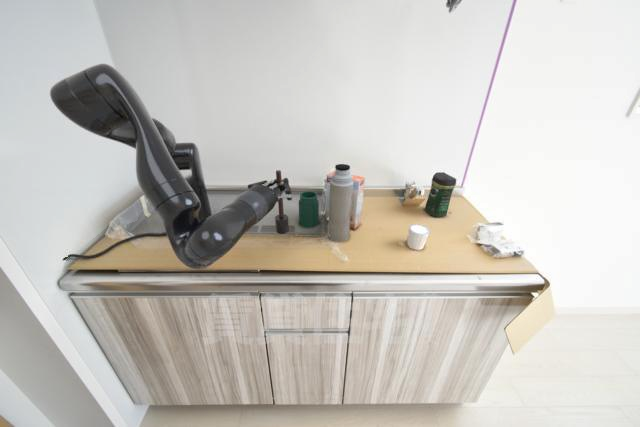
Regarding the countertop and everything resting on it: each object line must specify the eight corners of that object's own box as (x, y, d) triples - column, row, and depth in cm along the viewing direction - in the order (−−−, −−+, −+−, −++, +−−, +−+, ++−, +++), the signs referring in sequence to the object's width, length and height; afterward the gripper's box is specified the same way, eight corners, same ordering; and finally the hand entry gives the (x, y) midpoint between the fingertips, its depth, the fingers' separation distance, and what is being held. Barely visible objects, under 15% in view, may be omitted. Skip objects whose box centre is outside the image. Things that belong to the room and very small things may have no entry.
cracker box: (360, 223, 101) (365, 176, 91) (354, 230, 97) (359, 181, 87) (331, 214, 108) (333, 169, 98) (324, 220, 103) (326, 174, 93)
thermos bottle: (349, 231, 96) (355, 163, 82) (347, 243, 89) (354, 170, 75) (330, 229, 97) (332, 161, 84) (326, 240, 90) (329, 168, 77)
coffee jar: (449, 217, 107) (461, 178, 98) (432, 218, 106) (444, 178, 97) (437, 207, 116) (447, 170, 107) (421, 208, 114) (430, 171, 106)
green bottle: (304, 229, 97) (303, 200, 90) (296, 220, 103) (295, 192, 96) (321, 225, 100) (322, 196, 94) (313, 216, 106) (313, 189, 100)
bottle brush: (278, 235, 75) (273, 174, 65) (274, 229, 78) (269, 169, 68) (290, 232, 76) (287, 172, 67) (286, 226, 79) (282, 167, 70)
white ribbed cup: (424, 242, 90) (429, 226, 87) (425, 252, 85) (430, 236, 81) (405, 238, 92) (409, 222, 89) (405, 248, 86) (408, 232, 83)
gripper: (278, 195, 54) (304, 171, 68) (226, 187, 57) (261, 165, 72) (280, 223, 57) (305, 195, 72) (231, 214, 61) (264, 189, 75)
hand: (283, 180), depth 72 cm, fingers closed on bottle brush, 1 cm apart
